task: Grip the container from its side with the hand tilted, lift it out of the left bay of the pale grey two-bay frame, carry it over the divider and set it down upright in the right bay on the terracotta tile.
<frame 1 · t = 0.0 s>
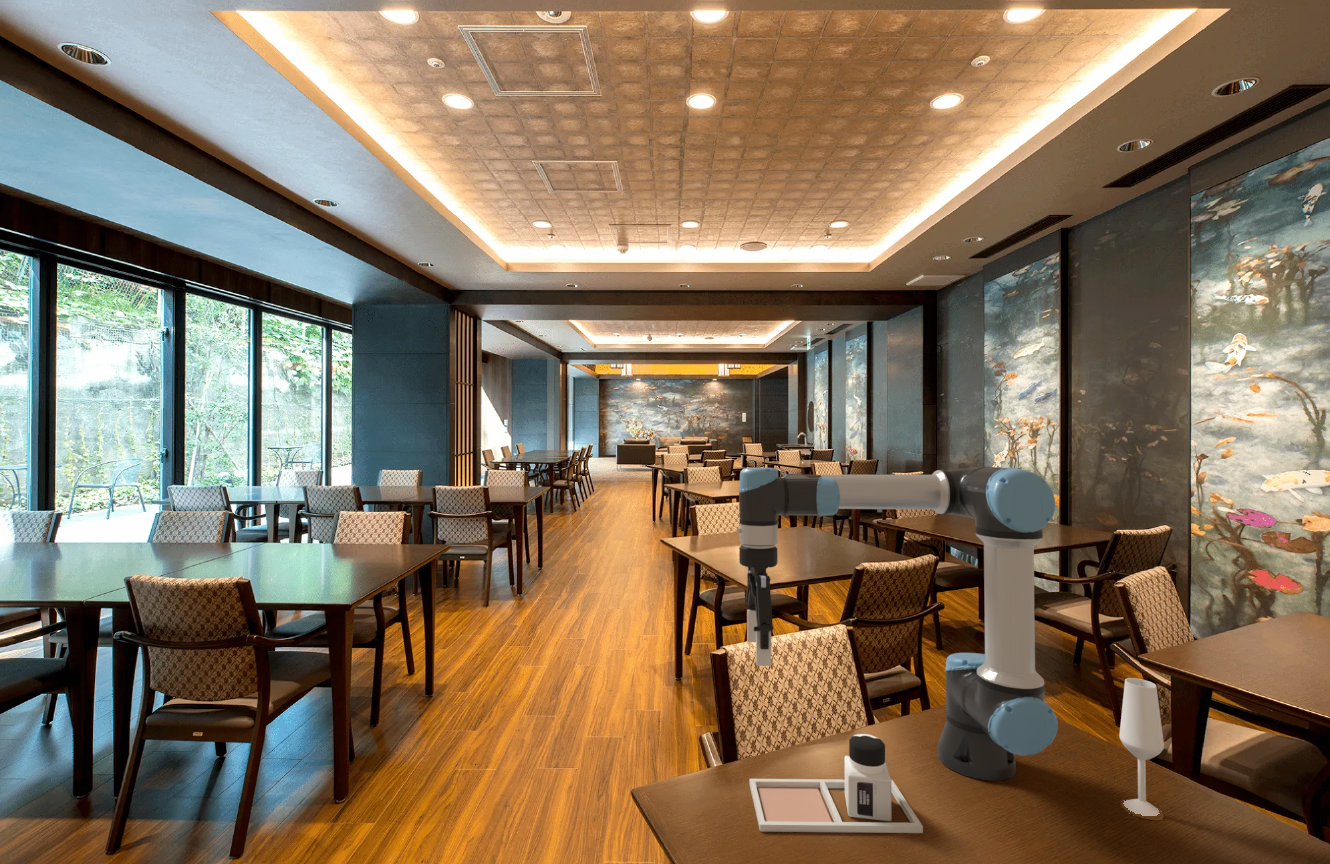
hand: (758, 652, 121), 28 cm above the table, tool pointing down, fingers open, 13 cm apart
container: (867, 808, 116), resting in bay frame
champagne flute: (1142, 811, 116), on the table
bay frame: (830, 807, 116), on the table
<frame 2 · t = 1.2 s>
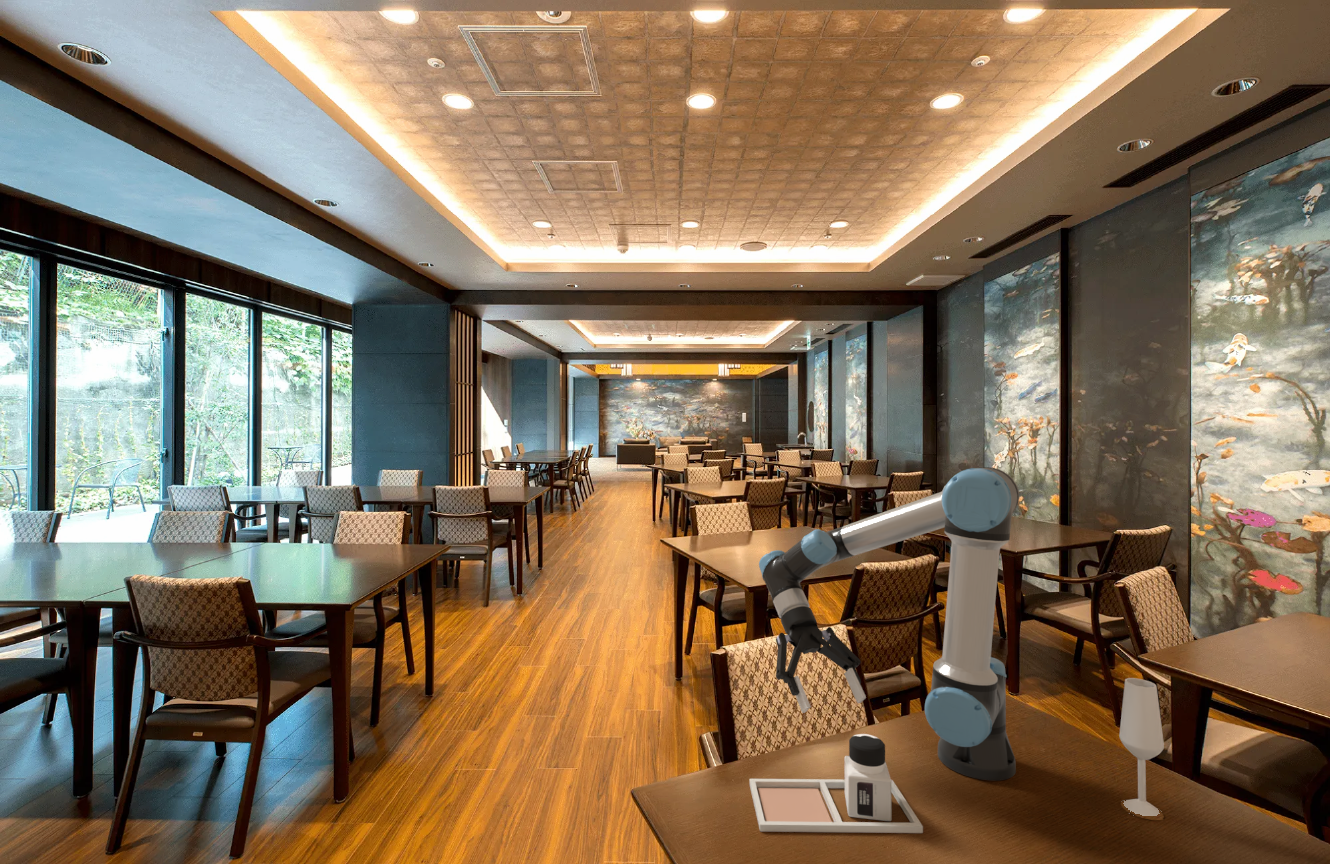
hand: (834, 705, 126), 15 cm above the table, tool tilted 45°, fingers open, 13 cm apart
nothing on the table moved.
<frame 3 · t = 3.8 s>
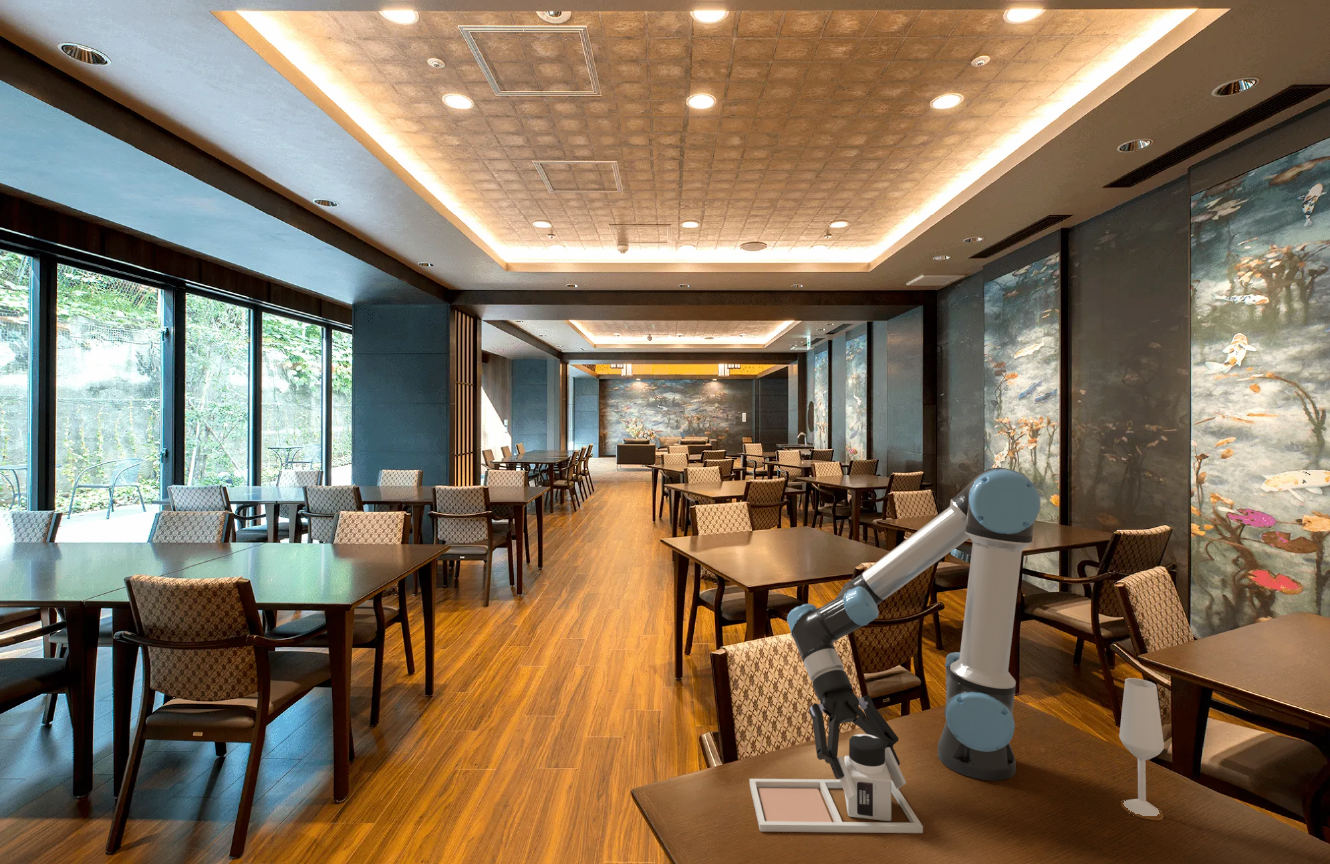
hand: (877, 791, 114), 5 cm above the table, tool tilted 45°, fingers closed on container, 10 cm apart
container: (867, 808, 116), resting in bay frame, touching gripper
everything else where it was.
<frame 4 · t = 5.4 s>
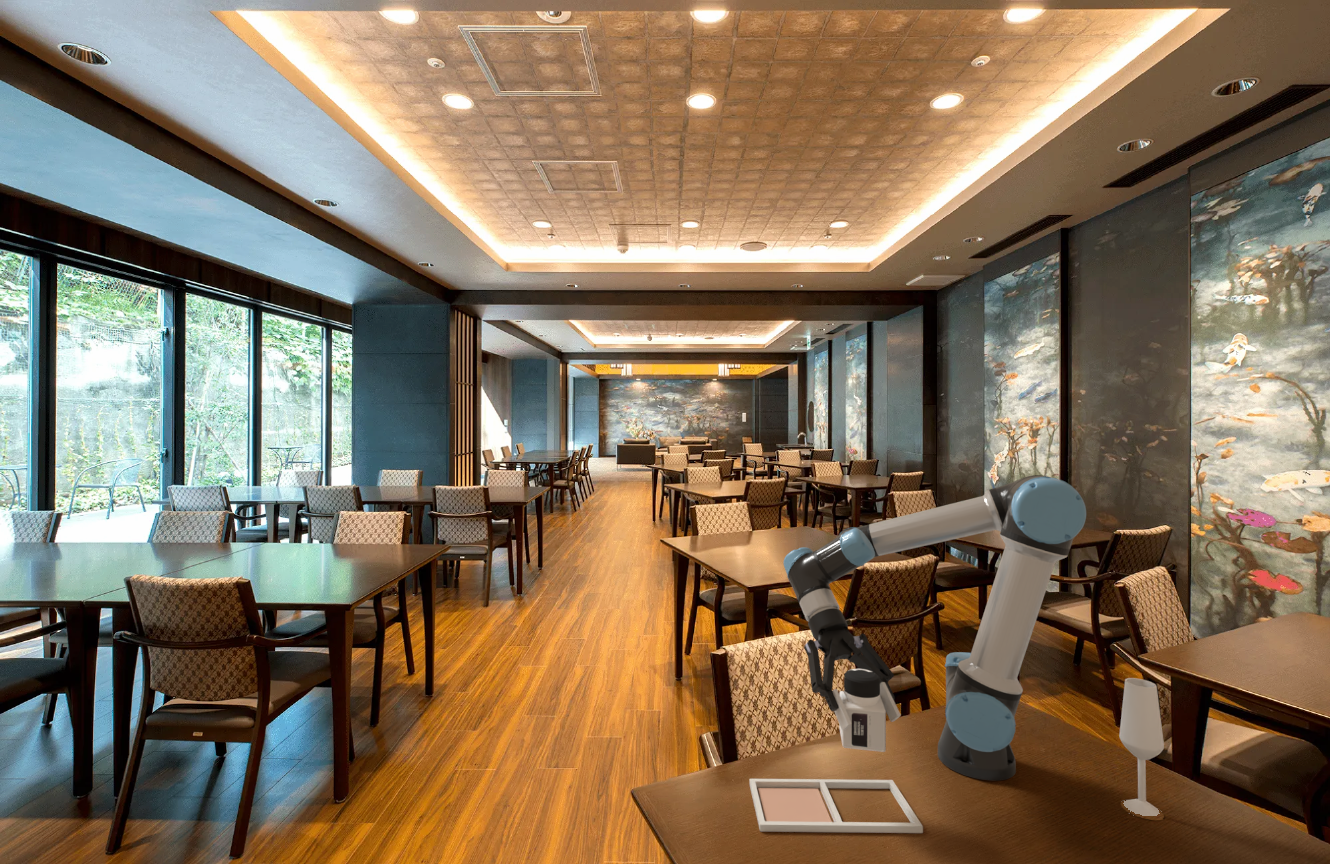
hand: (871, 722, 114), 17 cm above the table, tool tilted 45°, fingers closed on container, 10 cm apart
container: (861, 741, 117), point 12 cm above the table, touching gripper
everything else where it was.
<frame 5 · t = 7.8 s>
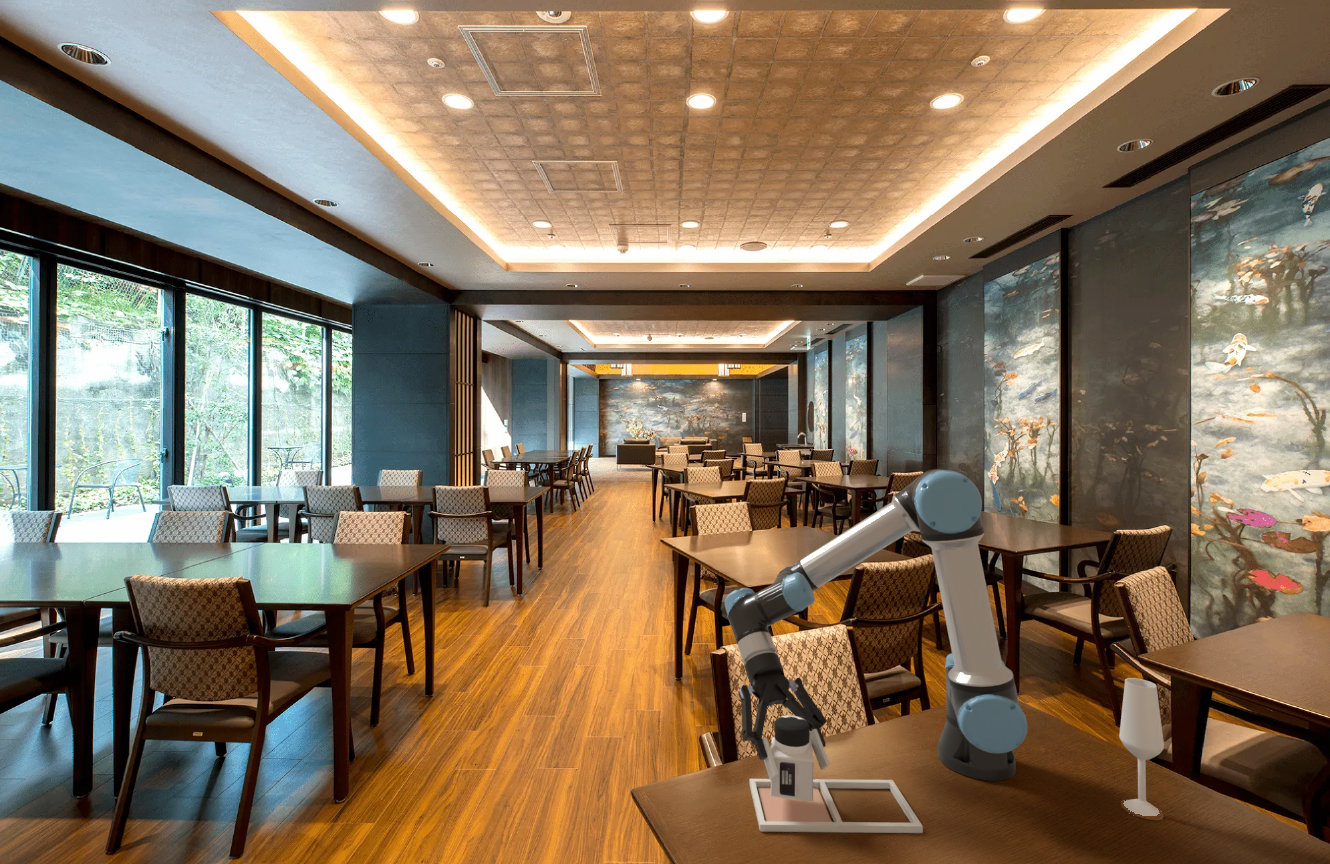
hand: (800, 771, 114), 8 cm above the table, tool tilted 45°, fingers closed on container, 10 cm apart
container: (791, 789, 117), point 3 cm above the table, touching gripper
everything else where it was.
when the fingers open (6 cm above the table, at t = 8.8 s): container drops 1 cm, resting on bay frame.
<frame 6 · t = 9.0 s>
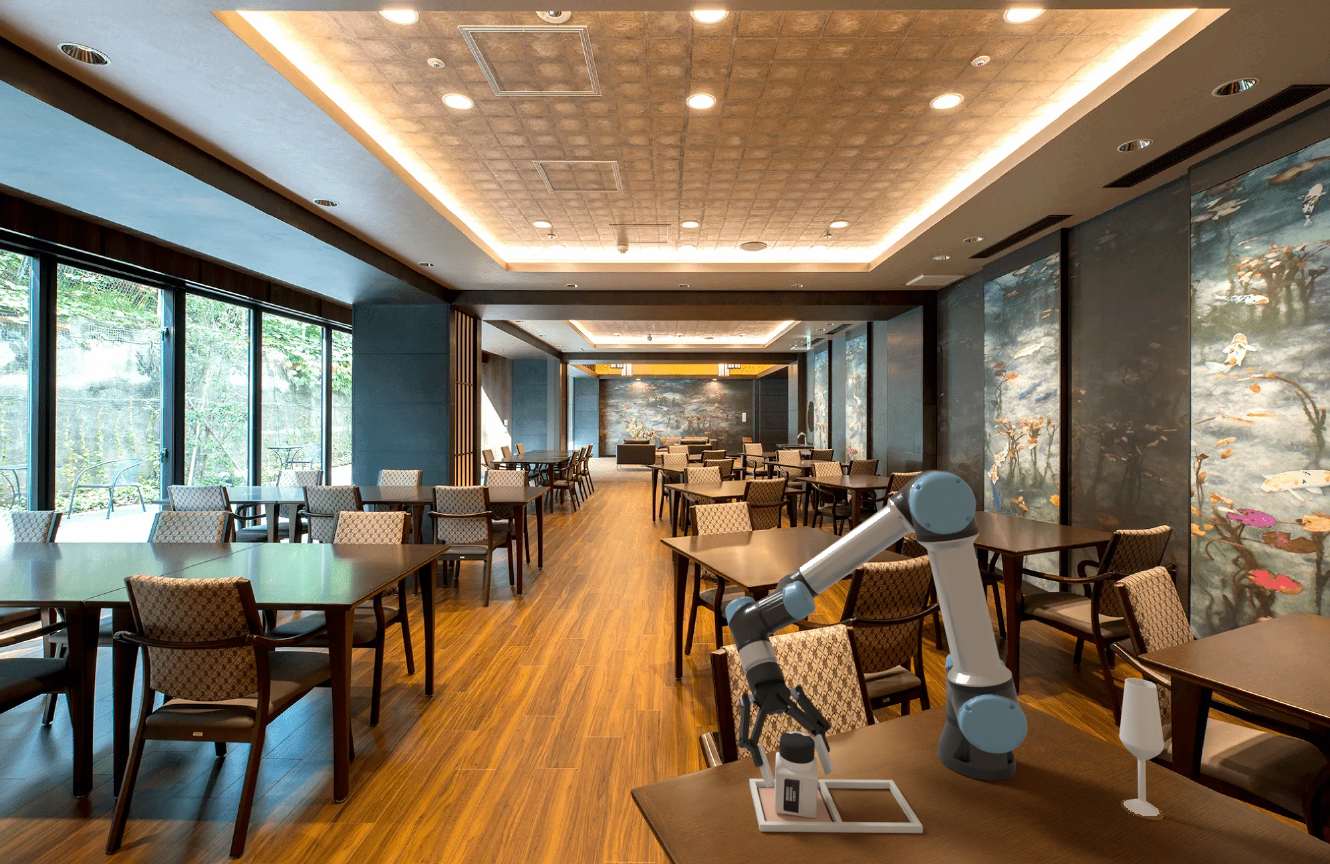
hand: (800, 778, 114), 7 cm above the table, tool tilted 45°, fingers open, 12 cm apart
container: (794, 805, 117), resting on bay frame
everything else where it was.
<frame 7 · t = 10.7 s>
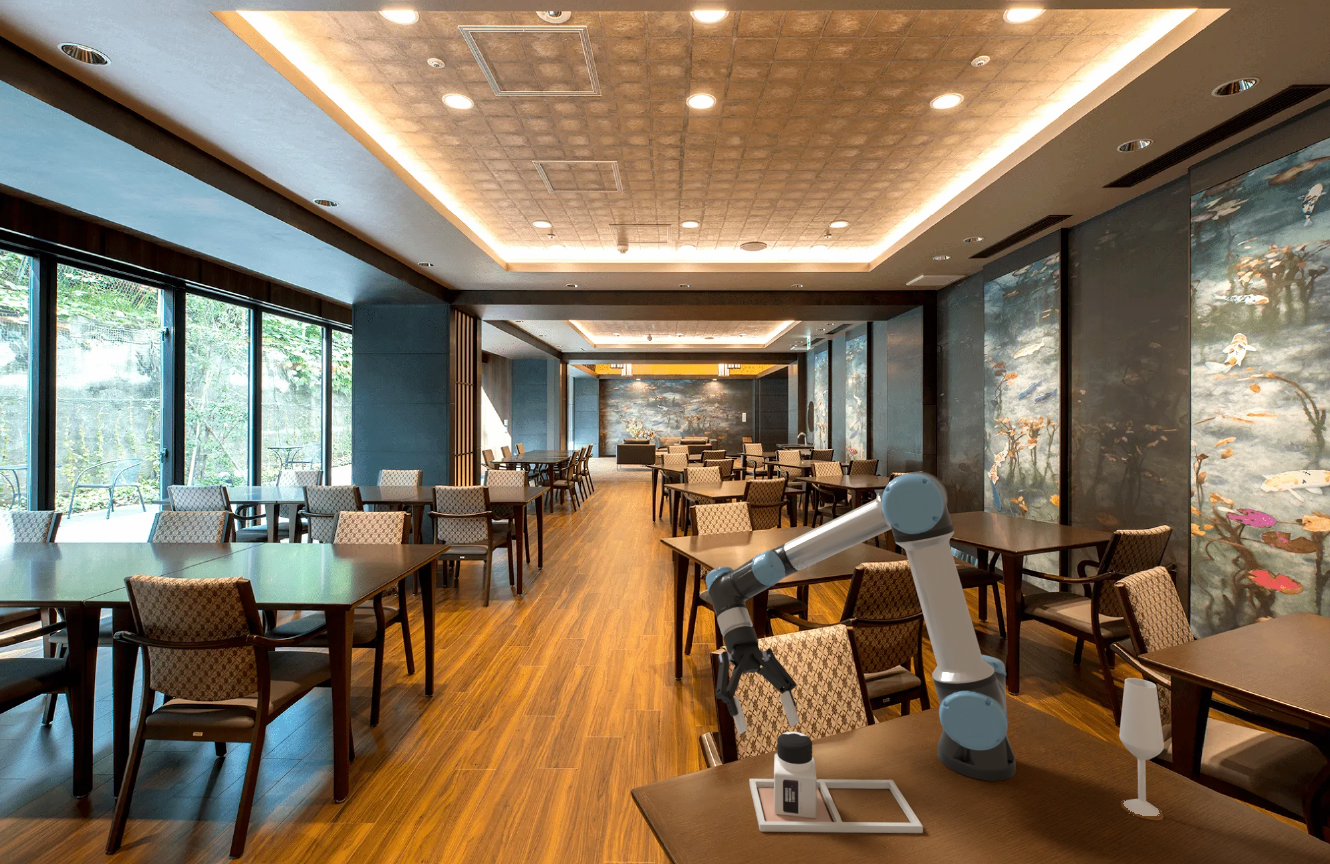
hand: (769, 727, 128), 10 cm above the table, tool tilted 40°, fingers open, 13 cm apart
nothing on the table moved.
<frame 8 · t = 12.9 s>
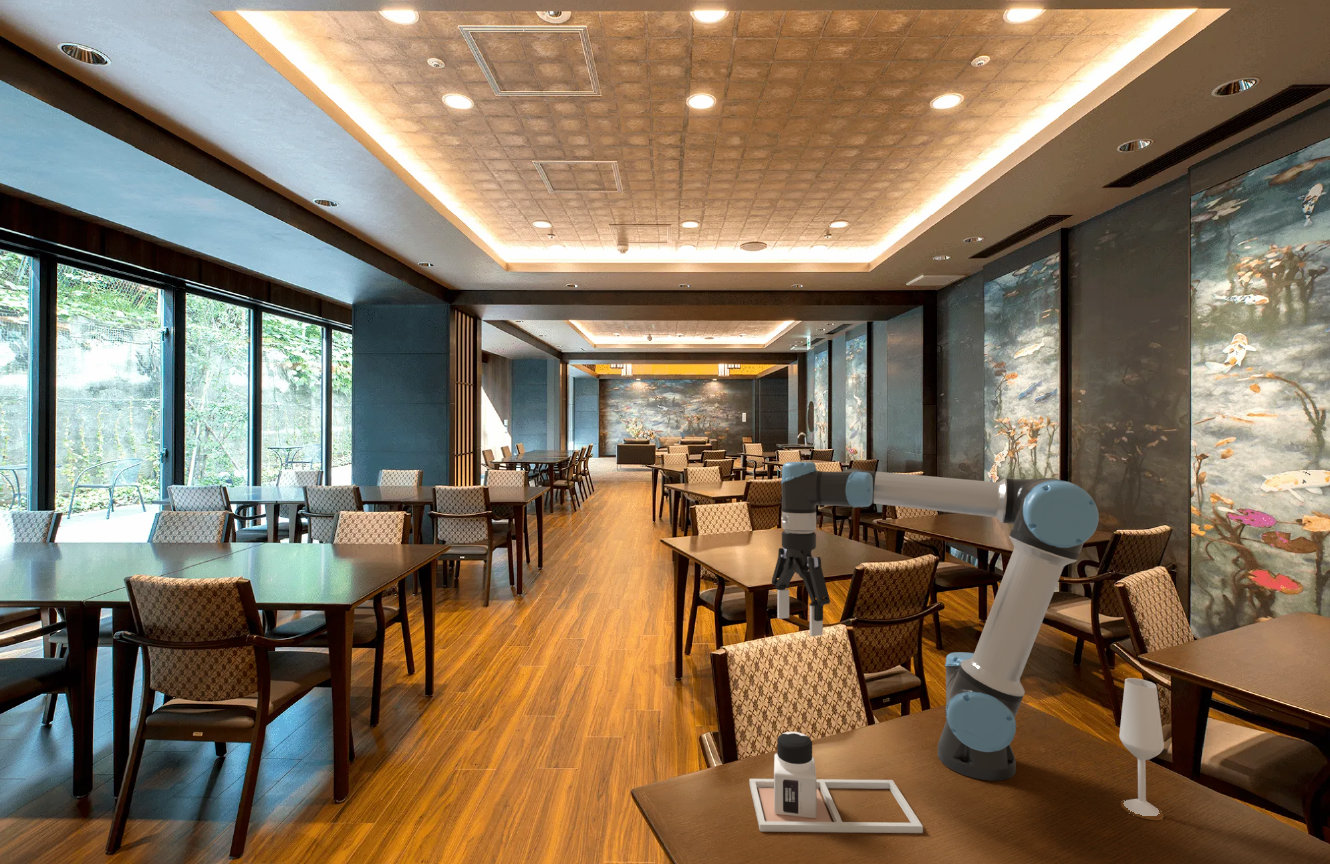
hand: (799, 626, 136), 29 cm above the table, tool pointing down, fingers open, 13 cm apart
nothing on the table moved.
at the end: container inside the target area (0.3 cm from its centre), resting on bay frame; container tilted 0°; the gripper is holding nothing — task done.
